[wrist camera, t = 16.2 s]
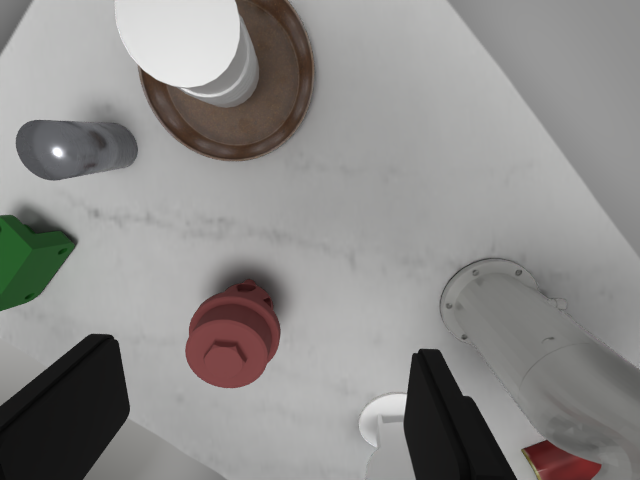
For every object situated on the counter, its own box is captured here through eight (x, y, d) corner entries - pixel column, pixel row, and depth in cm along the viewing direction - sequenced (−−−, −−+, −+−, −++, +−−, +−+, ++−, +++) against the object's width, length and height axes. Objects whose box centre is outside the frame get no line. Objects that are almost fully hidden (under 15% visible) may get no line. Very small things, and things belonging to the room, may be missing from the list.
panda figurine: (352, 448, 52) (365, 567, 38) (356, 391, 49) (372, 499, 34) (427, 449, 52) (467, 567, 38) (436, 392, 49) (485, 500, 35)
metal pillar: (133, 123, 37) (68, 120, 27) (140, 168, 38) (82, 180, 29) (88, 122, 37) (8, 119, 27) (98, 168, 38) (25, 180, 29)
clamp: (63, 216, 45) (8, 199, 36) (94, 247, 44) (46, 238, 35) (-14, 279, 42) (-93, 278, 33) (18, 312, 42) (-53, 319, 33)
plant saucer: (259, -60, 32) (253, -79, 29) (342, 110, 37) (345, 109, 34) (117, 39, 34) (98, 31, 32) (213, 186, 39) (204, 190, 36)
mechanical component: (211, 329, 45) (211, 263, 42) (283, 336, 46) (289, 271, 42) (173, 398, 33) (170, 313, 30) (270, 407, 34) (277, 323, 31)
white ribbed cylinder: (276, 71, 33) (267, 20, 19) (232, 124, 34) (191, 114, 20) (221, 16, 31) (164, -89, 17) (176, 74, 32) (87, 22, 18)
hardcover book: (519, 446, 53) (535, 472, 49) (651, 396, 50) (680, 419, 46) (540, 491, 56) (557, 519, 52) (666, 447, 53) (694, 473, 49)
